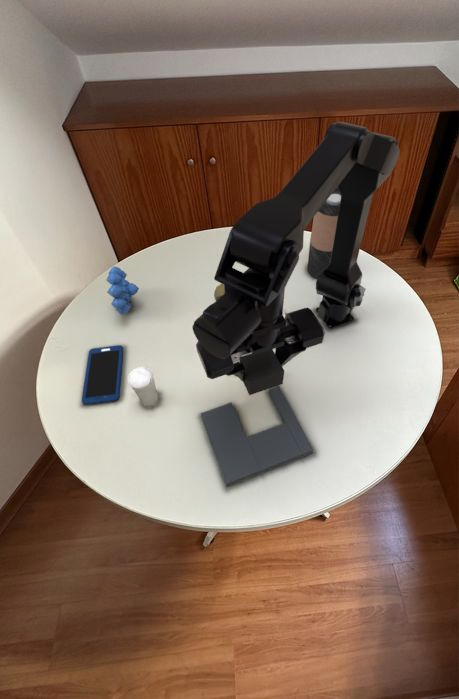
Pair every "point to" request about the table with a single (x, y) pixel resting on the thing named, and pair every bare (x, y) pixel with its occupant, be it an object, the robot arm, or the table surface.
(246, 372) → the black block
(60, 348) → the table surface
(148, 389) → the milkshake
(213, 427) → the base pad
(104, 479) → the table surface
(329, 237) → the travel mug
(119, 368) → the cell phone
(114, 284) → the grapes
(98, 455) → the table surface
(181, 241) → the table surface
